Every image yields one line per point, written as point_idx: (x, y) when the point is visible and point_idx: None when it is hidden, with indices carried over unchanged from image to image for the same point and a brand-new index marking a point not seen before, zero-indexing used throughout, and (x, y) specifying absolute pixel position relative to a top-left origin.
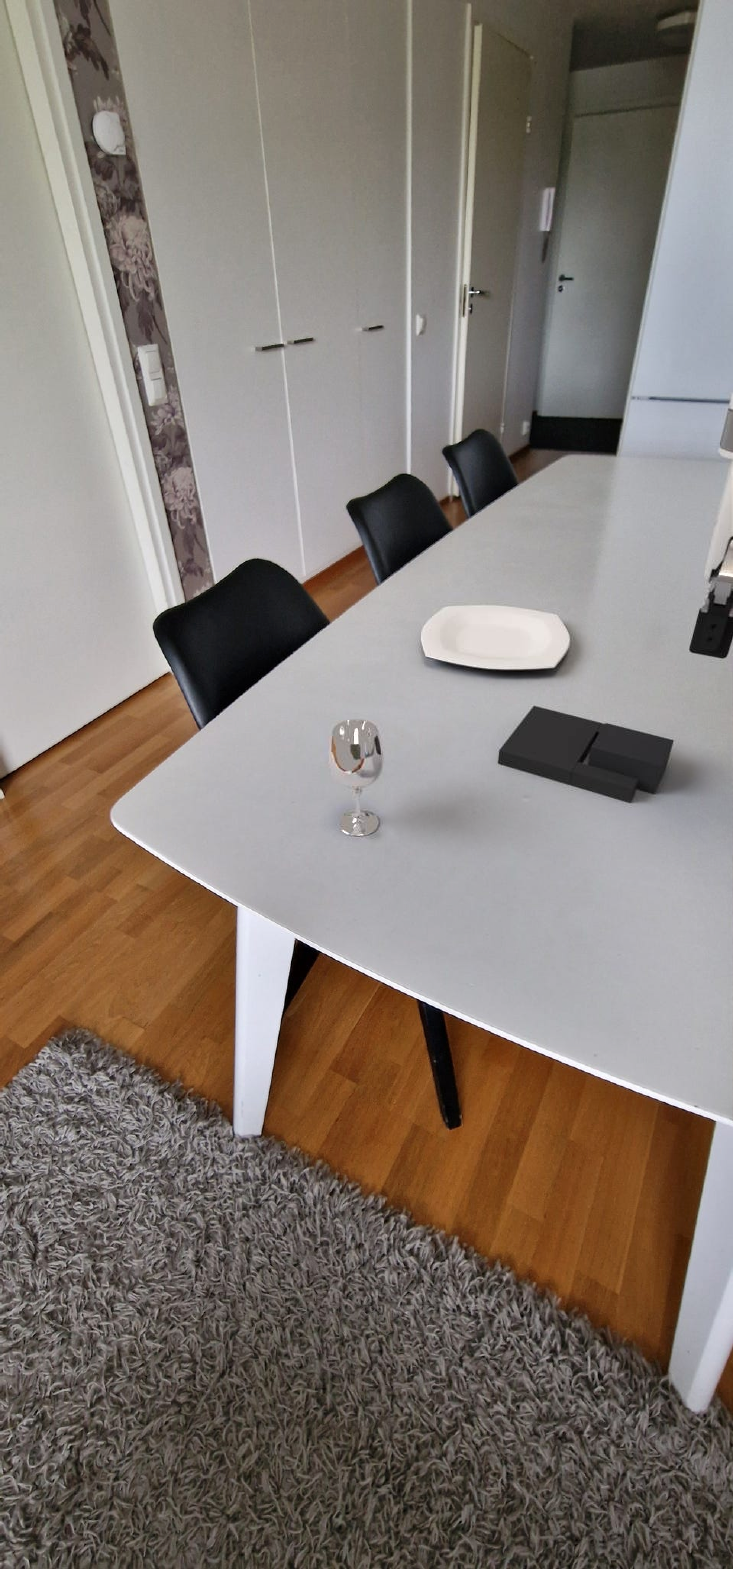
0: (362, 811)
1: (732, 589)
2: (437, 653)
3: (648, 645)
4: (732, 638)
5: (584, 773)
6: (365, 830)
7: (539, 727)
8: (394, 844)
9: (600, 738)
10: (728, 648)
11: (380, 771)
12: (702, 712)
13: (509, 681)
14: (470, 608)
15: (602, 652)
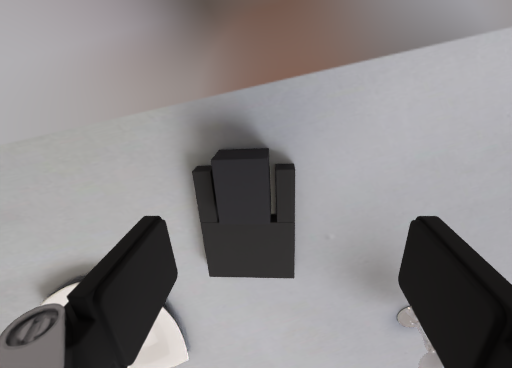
0: (401, 320)
1: (134, 306)
2: (179, 355)
3: (12, 219)
4: (471, 249)
5: (292, 212)
6: None
7: (241, 263)
8: None
9: (250, 221)
10: (448, 230)
11: None
12: (96, 142)
13: (168, 297)
14: None
15: (61, 250)
